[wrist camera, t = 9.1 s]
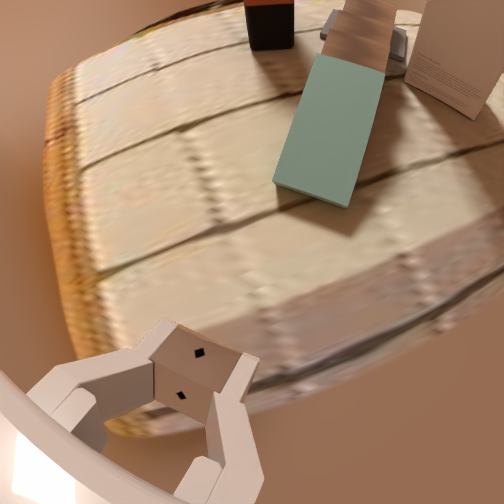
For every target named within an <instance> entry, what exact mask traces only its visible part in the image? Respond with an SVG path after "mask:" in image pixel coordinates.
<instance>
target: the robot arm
mask: <svg viewBox="0 0 504 504" xmlns="http://www.w3.org/2000/svg"><path fill="white" fill-rule="evenodd" d="M259 362H260V359H259V358H257V357H254V356H252V355H249V354H247V353H244V352H242V351H239V350H237V349H234V348H232V347H230V346H227V345H225V344H222V343H220V342H217V341H215V340H213V339H209V338H207V337H205V336H203V335H201V334H199V333H197V332H195V331H193V330H191V329H189V328H187V327H185V326H183V325H181V324H178V323H176V322H174V321H172V320H170V319H168V318H166V317H165V318H163V319H161V320H160V321H159V322H158V323H157V324H156V325H155V326H154V327H153V328H152V329H151V330H150V332H149V333H148V334H147V335H146V336H145V337H144V338H143V339H142V340H141V341H140V342H139V343H138V344H137V345H136V347H135V348H134V349H133V350H131V349H129V348H126V349H122V350H118V351H115V352H111V353H107V354H103V355H99V356H95V357H91V358H87V359H83V360H79V361H75V362H70V363H66V364H62V365H57V366H55V367H54V368H53V369H52V370H51V371H50V372H49V373H48V374H47V375H46V376H45V377H44V378H43V379H41V380H40V381H39V382H38V383H37V384H36V385H35V386H34V387H33V388H32V389H31V390H30V391H29V392H28V393H27V394H25V393H23V392H22V391H21V390H20V389H19V388H18V387H17V386H16V385H15V384H14V383H13V382H12V381H11V380H10V379H9V378H8V377H7V376H6V375H5V374H4V373H3V372H2V371H1V369H0V504H254V503H255V501H256V498H257V496H258V494H259V491H260V488H261V486H262V483H263V481H264V476H263V473H262V469H261V465H260V461H259V458H258V454H257V450H256V446H255V442H254V438H253V434H252V430H251V426H250V422H249V418H248V414H247V410H246V406H245V404H243V402H244V400H245V397H246V395H247V393H248V390H249V388H250V385H251V383H252V380H253V378H254V375H255V373H256V370H257V368H258V365H259ZM154 400H156V401H158V402H160V403H162V404H164V405H166V406H168V407H170V408H173V409H175V410H177V411H179V412H181V413H183V414H185V415H187V416H189V417H191V418H193V419H195V420H197V421H199V422H201V423H203V424H205V425H206V426H205V427H206V436H207V445H208V453H209V459H208V458H206V457H203V456H200V457H197V458H195V459H194V461H193V463H192V464H191V466H190V468H189V469H188V471H187V473H186V474H185V476H184V478H183V479H182V481H181V483H180V484H179V486H178V488H177V489H176V491H175V493H174V494H173V495H171V494H169V493H167V492H165V491H163V490H161V489H159V488H157V487H155V486H153V485H151V484H150V483H148V482H146V481H144V480H142V479H140V478H139V477H137V476H135V475H133V474H131V473H130V472H128V471H126V470H125V469H123V468H122V467H120V466H118V465H117V464H115V463H114V462H112V461H110V460H109V459H107V458H106V457H104V456H103V455H101V454H100V453H101V451H102V450H103V448H104V447H105V446H106V445H107V443H108V442H109V438H108V435H107V432H106V429H105V426H104V423H103V422H105V421H107V420H110V419H112V418H115V417H117V416H120V415H122V414H124V413H127V412H129V411H132V410H134V409H136V408H139V407H141V406H143V405H145V404H148V403H150V402H152V401H154Z"/></svg>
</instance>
